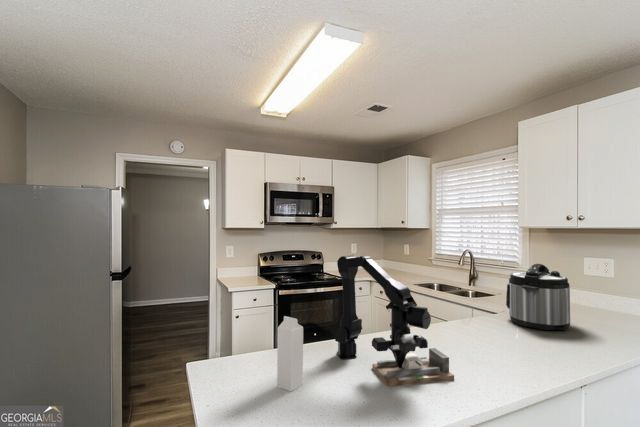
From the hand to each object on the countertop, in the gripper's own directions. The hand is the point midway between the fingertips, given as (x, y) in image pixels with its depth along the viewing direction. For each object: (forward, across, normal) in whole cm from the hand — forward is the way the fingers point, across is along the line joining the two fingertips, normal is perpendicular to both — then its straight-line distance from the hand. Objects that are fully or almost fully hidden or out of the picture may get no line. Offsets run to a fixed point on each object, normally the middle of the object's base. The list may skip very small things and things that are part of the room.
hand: (399, 367), depth 117 cm
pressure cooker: (+3, +97, +42) cm, 106 cm away
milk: (+3, -38, 0) cm, 39 cm away
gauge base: (+2, +5, 0) cm, 5 cm away
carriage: (+1, +7, -2) cm, 7 cm away
